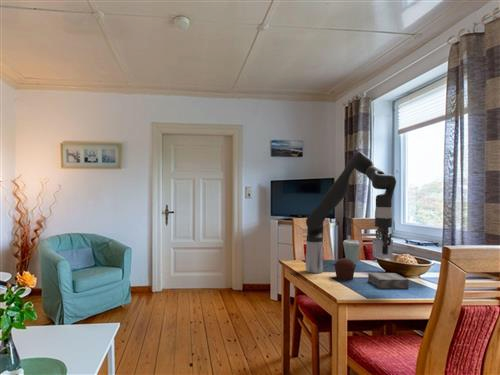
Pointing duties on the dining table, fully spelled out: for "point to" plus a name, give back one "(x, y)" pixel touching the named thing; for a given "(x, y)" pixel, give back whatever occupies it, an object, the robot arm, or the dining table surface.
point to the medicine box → (378, 249)
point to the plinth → (388, 280)
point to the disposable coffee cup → (351, 250)
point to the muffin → (344, 269)
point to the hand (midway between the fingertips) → (382, 253)
